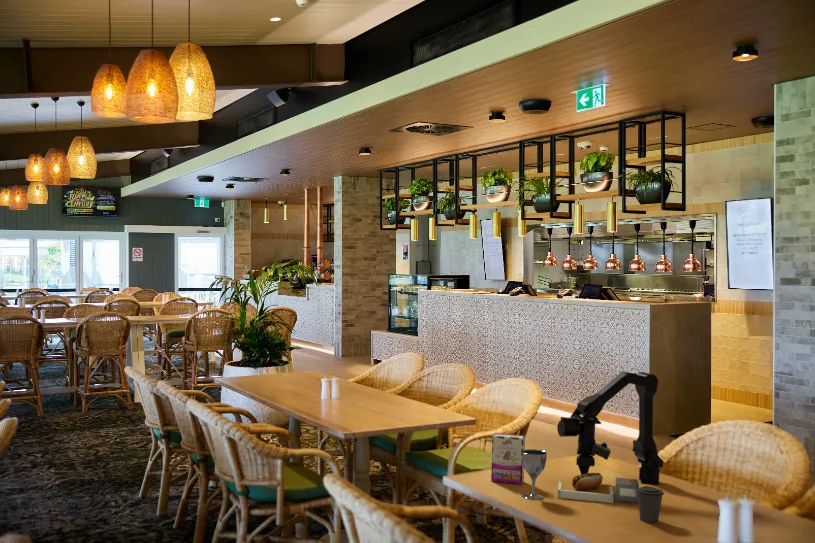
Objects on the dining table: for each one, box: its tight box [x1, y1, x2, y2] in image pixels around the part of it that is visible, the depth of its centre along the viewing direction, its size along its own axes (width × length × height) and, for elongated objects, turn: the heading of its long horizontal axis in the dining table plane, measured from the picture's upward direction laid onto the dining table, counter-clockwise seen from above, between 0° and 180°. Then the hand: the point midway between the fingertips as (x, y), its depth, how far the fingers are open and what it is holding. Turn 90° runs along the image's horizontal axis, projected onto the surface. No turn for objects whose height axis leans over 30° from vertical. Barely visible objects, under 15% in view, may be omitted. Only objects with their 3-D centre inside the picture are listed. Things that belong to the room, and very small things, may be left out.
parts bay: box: [557, 481, 615, 504], centre depth 263 cm, size 18×11×2 cm, turn 77°
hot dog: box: [571, 472, 604, 491], centre depth 271 cm, size 5×13×5 cm, turn 126°
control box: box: [613, 477, 640, 505], centre depth 260 cm, size 8×9×6 cm
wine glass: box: [521, 448, 548, 501], centre depth 259 cm, size 8×8×15 cm
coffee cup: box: [637, 485, 665, 524], centre depth 238 cm, size 8×8×10 cm
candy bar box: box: [490, 433, 526, 485], centre depth 277 cm, size 11×5×16 cm, turn 73°
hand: (584, 479), depth 277 cm, fingers closed
